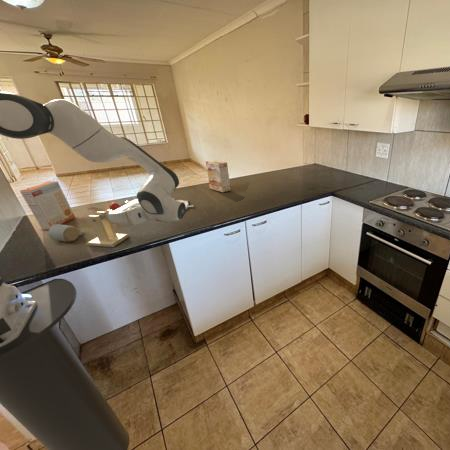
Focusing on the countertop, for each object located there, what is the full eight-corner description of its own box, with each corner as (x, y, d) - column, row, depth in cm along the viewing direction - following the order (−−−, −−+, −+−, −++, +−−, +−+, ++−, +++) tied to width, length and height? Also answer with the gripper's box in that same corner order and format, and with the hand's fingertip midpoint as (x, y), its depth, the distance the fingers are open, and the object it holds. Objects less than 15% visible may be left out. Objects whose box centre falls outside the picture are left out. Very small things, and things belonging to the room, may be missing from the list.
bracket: (128, 236, 116) (118, 210, 110) (113, 247, 108) (101, 219, 102) (105, 235, 117) (94, 209, 111) (89, 245, 110) (75, 217, 103)
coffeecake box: (209, 188, 176) (205, 161, 168) (218, 186, 181) (214, 159, 173) (222, 192, 168) (218, 163, 160) (231, 190, 173) (227, 161, 165)
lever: (123, 207, 105) (117, 200, 104) (117, 210, 102) (110, 203, 101) (104, 220, 110) (97, 213, 109) (97, 224, 107) (90, 217, 106)
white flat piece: (198, 204, 150) (198, 202, 150) (153, 222, 130) (152, 219, 129) (178, 197, 161) (178, 195, 160) (133, 212, 140) (132, 210, 140)
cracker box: (65, 217, 135) (47, 180, 125) (76, 217, 135) (58, 180, 125) (40, 229, 123) (18, 190, 113) (52, 230, 122) (30, 190, 113)
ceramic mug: (68, 245, 110) (60, 229, 106) (52, 243, 111) (44, 228, 107) (89, 233, 119) (83, 219, 116) (74, 232, 120) (67, 218, 117)
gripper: (160, 193, 110) (132, 192, 111) (126, 212, 92) (93, 210, 93) (164, 206, 112) (136, 205, 114) (131, 227, 94) (99, 225, 96)
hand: (116, 207), depth 103 cm, fingers open, 8 cm apart
